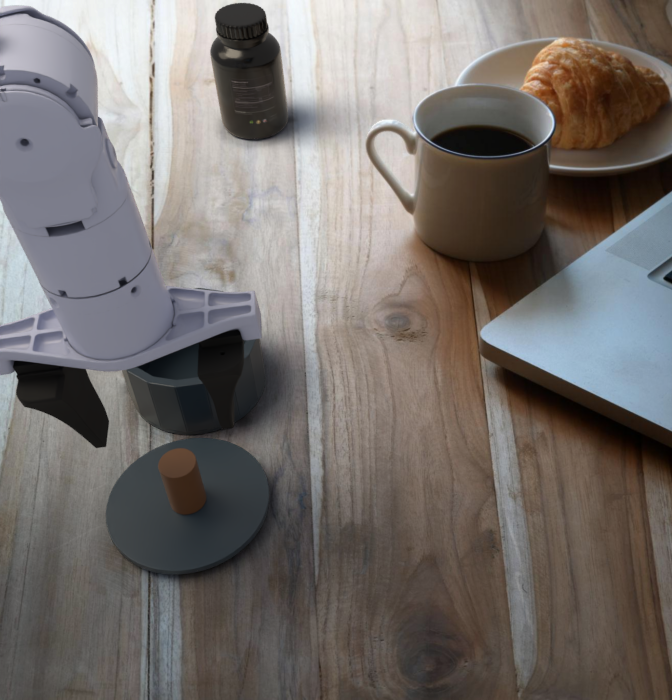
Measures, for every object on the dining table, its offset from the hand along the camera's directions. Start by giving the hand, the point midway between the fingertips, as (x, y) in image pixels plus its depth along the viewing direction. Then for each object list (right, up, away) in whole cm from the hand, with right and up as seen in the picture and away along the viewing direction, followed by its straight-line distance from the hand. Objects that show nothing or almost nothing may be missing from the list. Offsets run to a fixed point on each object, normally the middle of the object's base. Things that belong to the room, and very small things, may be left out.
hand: (165, 425), depth 57 cm
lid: (0, -6, +6) cm, 9 cm away
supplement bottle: (-3, +28, +40) cm, 49 cm away
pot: (-2, +2, +15) cm, 15 cm away
